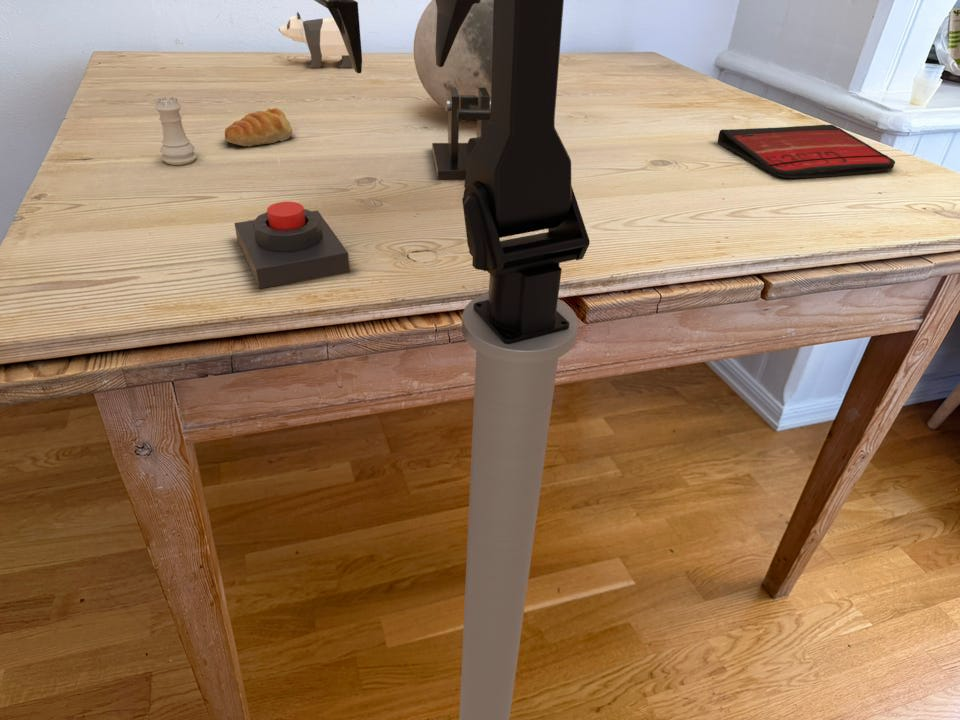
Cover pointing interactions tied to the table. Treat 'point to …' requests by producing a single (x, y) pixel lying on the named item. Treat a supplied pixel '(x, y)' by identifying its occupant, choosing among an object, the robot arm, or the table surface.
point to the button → (286, 216)
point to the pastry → (259, 128)
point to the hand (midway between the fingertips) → (399, 69)
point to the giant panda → (318, 39)
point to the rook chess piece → (173, 133)
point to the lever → (471, 109)
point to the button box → (291, 250)
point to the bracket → (453, 153)
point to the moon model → (456, 54)
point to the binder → (805, 151)
